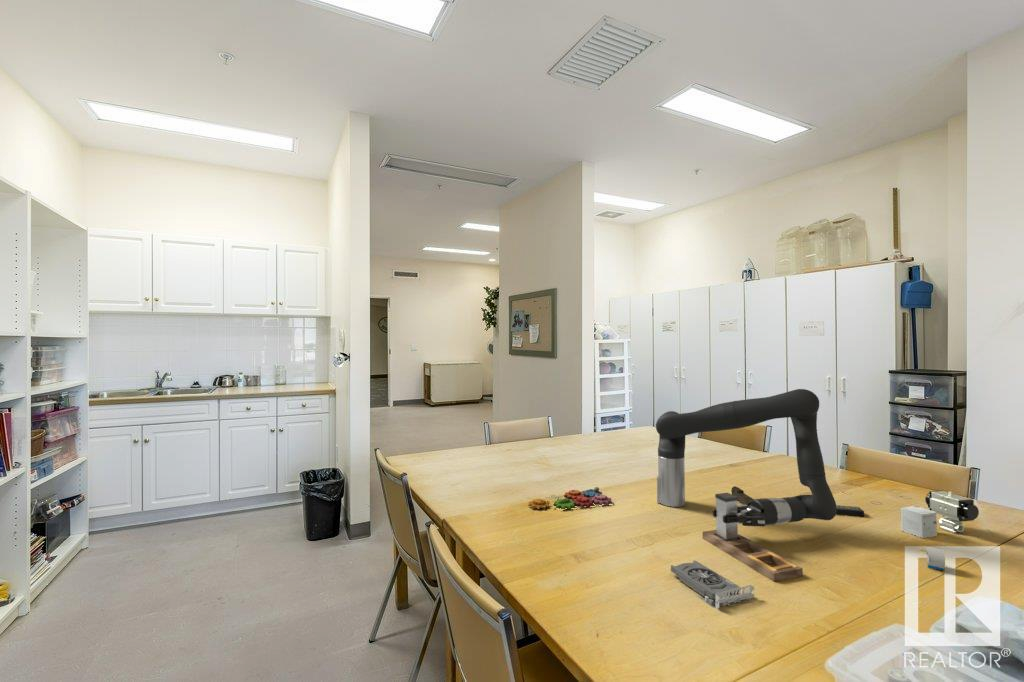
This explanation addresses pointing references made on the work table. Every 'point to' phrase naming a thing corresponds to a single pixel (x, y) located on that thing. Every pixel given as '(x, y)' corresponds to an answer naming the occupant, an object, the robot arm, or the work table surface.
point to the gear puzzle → (574, 499)
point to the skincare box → (918, 521)
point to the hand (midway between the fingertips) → (718, 516)
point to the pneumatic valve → (952, 509)
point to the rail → (756, 557)
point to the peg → (724, 507)
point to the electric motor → (934, 558)
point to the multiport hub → (849, 511)
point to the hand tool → (741, 495)
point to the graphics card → (711, 585)
